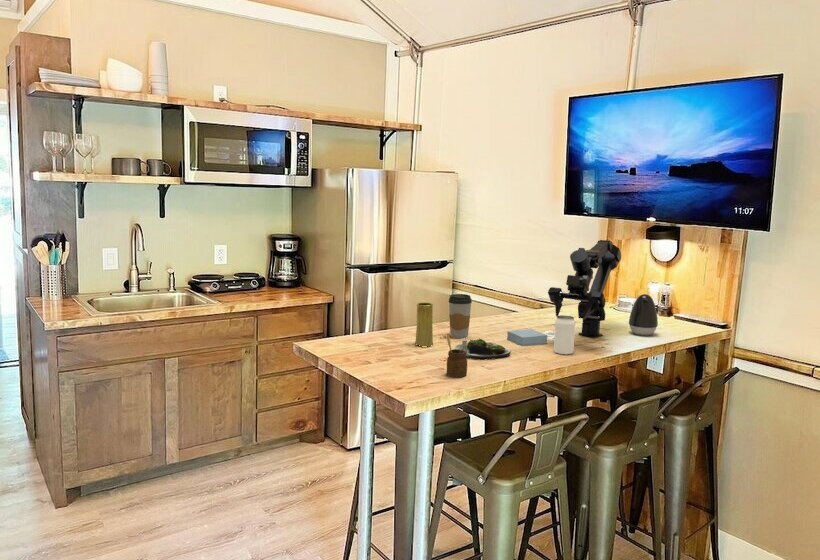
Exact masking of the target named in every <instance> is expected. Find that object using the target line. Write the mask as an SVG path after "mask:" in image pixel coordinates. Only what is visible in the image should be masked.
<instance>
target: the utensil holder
mask: <svg viewBox="0 0 820 560" xmlns="http://www.w3.org/2000/svg"><path fill="white" fill-rule="evenodd" d="M445 335H446V339H447V345H448V346H449V350H448V352H447V355H448V357H447V359H446V375H449V377H452V378H464V377H466V376H467V373H468V358H467V357H466V351H464V350H461V349H462V348H461V349H455V348H454V349H452V346H451V343H452V342H451V339H450V338H451V337H450V336H449V335H450V333H446V334H445ZM462 341H465V339H464V338H461V339H460V340H459V344H458V345H459V346H460V344H463V343H462ZM464 344H466V343H464ZM466 346H467V345H466ZM463 348H464V347H463ZM464 349H465V348H464Z"/></svg>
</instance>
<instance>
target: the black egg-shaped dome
mask: <svg viewBox="0 0 820 560" xmlns="http://www.w3.org/2000/svg"><path fill="white" fill-rule="evenodd" d="M658 319H659V318H658V312H657V308H656V304H655V301H654V300H653V298H652V296H650V295H649V294H648V293H647V294H646V293H645V294H644V293H642V294H640V295H638V297H637V298H636V300H635V301H634V303H633V305H632V309H631V311H630V314H629V319H628V325H629V329H630V330H631V332H632V333H633V334H635V335H637V336H643V335H644V336H651V335H653V334H654V333H655V332H656V329H657V327H658V325H659V324H658V322H659V321H658Z"/></svg>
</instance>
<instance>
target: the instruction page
mask: <svg viewBox="0 0 820 560" xmlns="http://www.w3.org/2000/svg"><path fill="white" fill-rule="evenodd" d="M541 333H543V334H545V335H547V341H554V333H555V331H553V330H546V331H541Z"/></svg>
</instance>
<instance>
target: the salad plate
mask: <svg viewBox="0 0 820 560" xmlns="http://www.w3.org/2000/svg"><path fill="white" fill-rule="evenodd" d="M462 343H463V344H462ZM464 343H466V344H464ZM459 345H460V346H459ZM466 345H467V346H466ZM463 347H464V348H465V349H464V348H463ZM461 348H462V349H461ZM454 349H461V350H464V351H466V358H467V359H470V358H471V359H472V360H477V359H480V361H481V360H484V361H486V360H485V359H487V361H488V360H497V359H504V358H507V357H509V356H510V355H511V349H509V348H508V347H504V346H503V345H500V344H498V343H496V342H489V341H487V342H486V341H485V340H484V339H482V338H478V339H474V338H471V339H470V340H464V341H463V340H461V343H460V344H457V345H455V346H454ZM471 359H470V360H471Z"/></svg>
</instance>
